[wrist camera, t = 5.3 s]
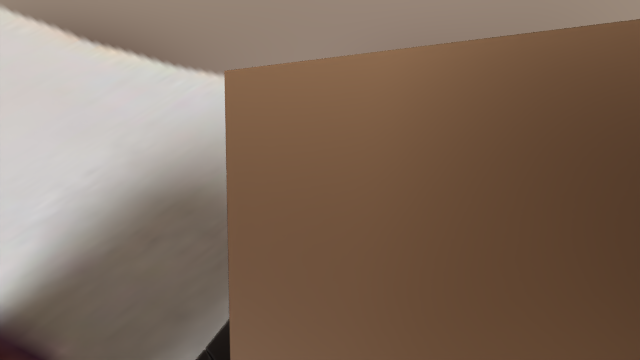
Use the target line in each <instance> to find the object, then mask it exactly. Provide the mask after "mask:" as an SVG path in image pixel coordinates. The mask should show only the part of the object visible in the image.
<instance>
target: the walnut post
mask: <svg viewBox="0 0 640 360" xmlns="http://www.w3.org/2000/svg"><path fill="white" fill-rule="evenodd" d="M225 121H226V170H227V220H228V269H229V319H230V360H640V19H637V20H630V21H621V22H613V23H605V24H597V25H589V26H581V27H573V28H565V29H557V30H549V31H541V32H533V33H525V34H517V35H509V36H500V37H492V38H484V39H476V40H469V41H461V42H452V43H444V44H436V45H429V46H420V47H412V48H405V49H396V50H388V51H380V52H372V53H364V54H356V55H348V56H340V57H332V58H324V59H316V60H308V61H300V62H292V63H284V64H276V65H268V66H260V67H252V68H244V69H236V70H227V71H225Z"/></svg>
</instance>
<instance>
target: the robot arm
mask: <svg viewBox="0 0 640 360" xmlns="http://www.w3.org/2000/svg"><path fill="white" fill-rule="evenodd" d="M196 360H230V319H229V320H228V321H227V322H226V323H225V325H224V326H223V327H222V328H221V329H220V331H219V332H218V333H217V334H216V336H215V337H214V338H213V339H212V341H211V342H210V343H209V344H208V345H207V347H206V350H203V351H202V353H201V354H200V355H199V356H198V357H197V359H196Z"/></svg>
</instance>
